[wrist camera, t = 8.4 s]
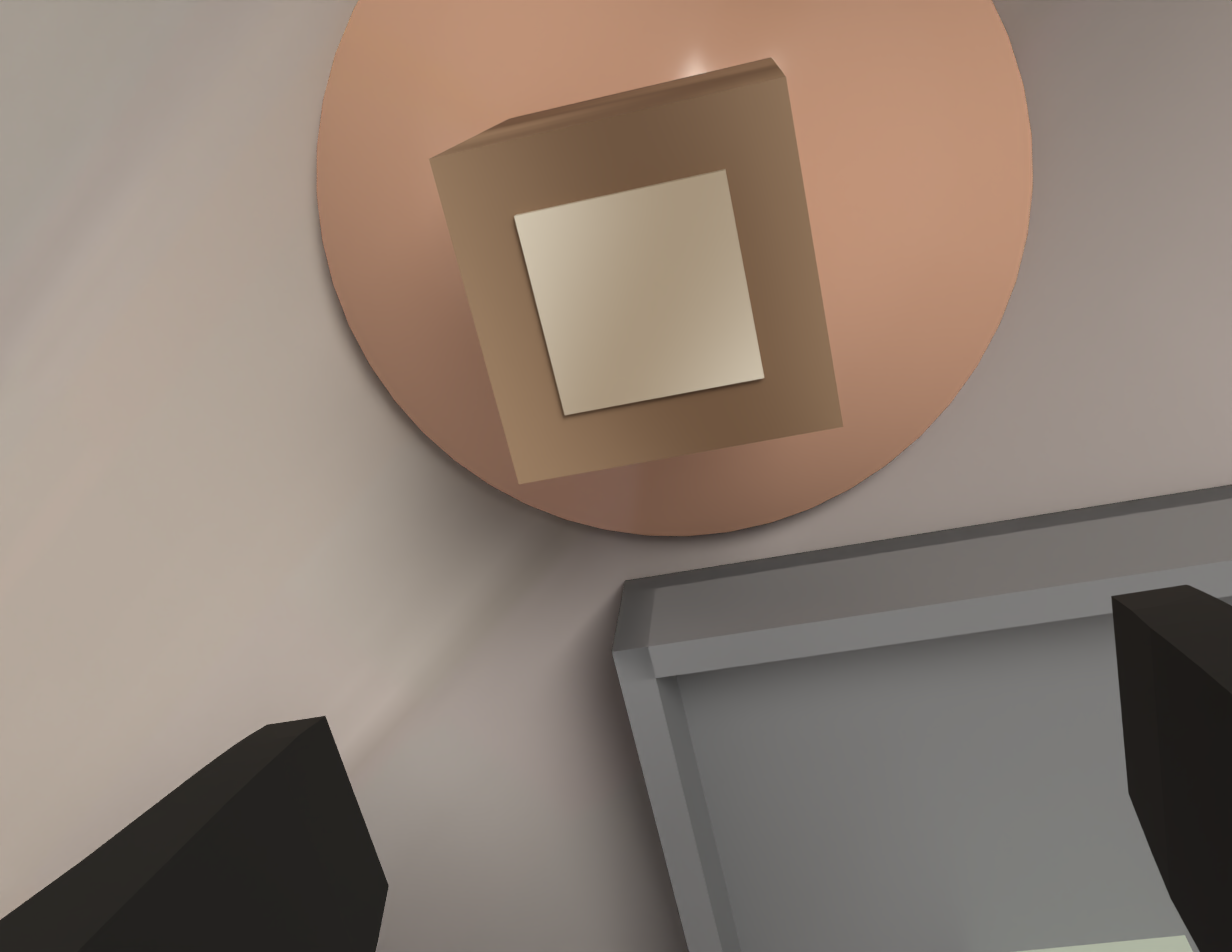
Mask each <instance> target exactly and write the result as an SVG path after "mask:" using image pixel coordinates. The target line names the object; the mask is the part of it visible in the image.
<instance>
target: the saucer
mask: <svg viewBox="0 0 1232 952" xmlns="http://www.w3.org/2000/svg"><path fill="white" fill-rule="evenodd" d="M770 57H771V58H772V59H773V60H774V62H775V63H776V64H777V66H778V67H779V68H780V70H781V71H782V72H783V73H784V75H785V76H786V80H787V86H788V92H789V98H790V104H791V111H792V117H793V123H794V129H795V135H796V141H797V147H798V153H799V159H800V166H801V172H802V178H803V184H804V190H805V196H806V202H807V208H808V214H809V220H810V227H811V233H812V239H813V245H814V251H815V257H816V263H817V269H818V275H819V281H820V288H821V294H822V300H823V306H824V312H825V318H826V324H827V330H828V336H829V343H830V349H831V355H832V361H833V367H834V373H835V379H836V385H837V391H838V397H839V404H840V410H841V416H842V422H843V427H839V428H834V429H828V430H822V431H817V432H811V433H806V434H800V435H794V436H789V437H783V438H777V439H772V440H766V441H760V442H755V443H749V444H744V445H738V446H732V447H727V448H721V449H715V450H710V451H704V452H698V453H693V454H687V455H682V456H676V457H670V458H665V459H659V460H653V461H648V462H642V463H636V464H631V465H625V466H620V467H614V468H608V469H603V470H597V471H591V472H586V473H580V474H574V475H569V476H563V477H557V478H552V479H546V480H541V481H535V482H529V483H524V484H519V483H518V480H517V476H516V472H515V469H514V465H513V461H512V458H511V454H510V451H509V447H508V443H507V440H506V436H505V432H504V429H503V425H502V422H501V418H500V414H499V411H498V407H497V404H496V400H495V396H494V393H493V389H492V385H491V382H490V378H489V375H488V371H487V367H486V364H485V360H484V356H483V353H482V349H481V346H480V342H479V338H478V335H477V331H476V327H475V324H474V320H473V317H472V313H471V309H470V306H469V302H468V298H467V295H466V291H465V288H464V284H463V280H462V277H461V273H460V270H459V266H458V262H457V259H456V255H455V251H454V248H453V244H452V241H451V237H450V233H449V230H448V226H447V222H446V219H445V215H444V212H443V208H442V204H441V201H440V197H439V193H438V190H437V186H436V183H435V179H434V175H433V172H432V168H431V164H430V161H429V159H430V158H432V157H434V156H436V155H438V154H440V153H442V152H444V151H446V150H448V149H450V148H452V147H454V146H456V145H458V144H460V143H462V142H464V141H466V140H468V139H470V138H472V137H474V136H476V135H478V134H480V133H482V132H483V131H485V130H487V129H489V128H491V127H493V126H495V125H497V124H499V123H501V122H503V121H505V120H507V119H509V118H514V117H518V116H522V115H527V114H531V113H535V112H539V111H544V110H548V109H552V108H557V107H561V106H565V105H569V104H574V103H578V102H582V101H586V100H591V99H595V98H599V97H604V96H608V95H612V94H616V93H621V92H625V91H629V90H634V89H638V88H642V87H646V86H651V85H655V84H659V83H663V82H668V81H672V80H676V79H681V78H685V77H689V76H693V75H698V74H702V73H706V72H710V71H715V70H719V69H723V68H728V67H732V66H736V65H740V64H745V63H749V62H753V61H758V60H762V59H766V58H770ZM1032 189H1033V169H1032V134H1031V128H1030V122H1029V116H1028V109H1027V103H1026V97H1025V91H1024V85H1023V82H1022V79H1021V75H1020V72H1019V69H1018V65H1017V62H1016V59H1015V56H1014V52H1013V49H1012V46H1011V42H1010V39H1009V36H1008V34H1007V32H1006V30H1005V28H1004V26H1003V23H1002V21H1001V19H1000V17H999V15H998V13H997V11H996V8H995V6H994V4H993V2H992V0H359V1H358V2H357V4H356V6H355V8H354V10H353V12H352V15H351V17H350V19H349V22H348V24H347V27H346V29H345V32H344V34H343V36H342V39H341V41H340V44H339V46H338V49H337V51H336V53H335V57H334V61H333V65H332V68H331V72H330V76H329V80H328V84H327V87H326V91H325V95H324V99H323V104H322V112H321V120H320V127H319V135H318V143H317V201H318V209H319V218H320V226H321V234H322V241H323V245H324V249H325V253H326V257H327V261H328V265H329V269H330V273H331V277H332V281H333V285H334V287H335V290H336V293H337V295H338V298H339V301H340V303H341V306H342V308H343V311H344V314H345V316H346V319H347V321H348V324H349V326H350V328H351V330H352V332H353V334H354V336H355V338H356V340H357V341H358V343H359V345H360V347H361V349H362V351H363V353H364V355H365V357H366V358H367V360H368V362H369V364H370V366H371V367H372V369H373V370H374V371H375V373H376V374H377V376H378V377H379V379H380V380H381V382H382V383H383V384H384V386H385V387H386V389H387V390H388V392H389V393H390V394H391V396H392V397H393V399H394V400H395V401H396V403H397V404H398V405H399V406H400V407H401V408H402V409H403V410H404V412H405V413H406V414H407V415H408V416H409V417H410V418H411V419H412V421H413V422H414V423H415V424H416V425H417V426H418V427H419V428H420V430H421V431H422V432H423V433H424V434H425V435H427V436H428V437H429V438H430V439H431V440H432V441H433V442H434V443H436V444H437V445H438V446H439V447H440V448H441V449H442V450H443V451H445V452H446V453H447V454H448V455H449V456H450V457H451V458H452V459H454V460H455V461H456V462H458V463H459V464H460V465H462V466H463V467H465V468H466V469H468V470H469V471H470V472H472V473H473V474H475V475H476V476H478V477H479V478H481V479H482V480H483V481H485V482H486V483H488V484H489V485H491V486H493V487H495V488H497V489H499V490H500V491H502V492H504V493H506V494H508V495H510V496H512V497H514V498H515V499H517V500H519V501H521V502H523V503H525V504H527V505H529V506H532V507H535V508H537V509H540V510H542V511H545V512H547V513H550V514H552V515H555V516H558V517H560V518H563V519H565V520H569V521H573V522H577V523H581V524H585V525H589V526H592V527H596V528H600V529H604V530H610V531H618V532H625V533H632V534H640V535H651V536H694V535H704V534H714V533H724V532H731V531H736V530H740V529H745V528H749V527H754V526H758V525H763V524H767V523H771V522H774V521H777V520H780V519H783V518H785V517H788V516H791V515H794V514H797V513H799V512H802V511H805V510H808V509H811V508H813V507H815V506H817V505H819V504H821V503H823V502H825V501H827V500H829V499H831V498H833V497H835V496H837V495H839V494H841V493H843V492H845V491H847V490H849V489H851V488H852V487H854V486H855V485H857V484H858V483H860V482H861V481H863V480H864V479H866V478H868V477H869V476H871V475H872V474H874V473H875V472H877V471H878V470H880V469H881V468H883V467H884V466H886V465H887V464H888V463H889V462H891V461H892V460H893V459H894V458H895V457H896V456H898V455H899V454H900V453H901V452H902V451H904V450H905V449H906V448H907V447H908V446H909V445H911V444H912V443H913V442H914V441H915V440H916V439H918V438H919V437H920V436H921V435H922V434H923V433H924V432H925V431H926V429H927V428H928V427H929V426H930V425H931V424H932V423H933V422H934V421H935V420H936V419H937V417H938V416H939V415H940V414H941V413H942V412H943V411H944V410H945V409H946V408H947V407H948V406H949V404H950V403H951V402H952V401H953V399H954V398H955V396H956V395H957V394H958V392H959V391H960V389H961V388H962V387H963V385H964V384H965V382H966V381H967V380H968V378H969V377H970V375H971V374H972V373H973V371H974V370H975V368H976V367H977V365H978V363H979V362H980V360H981V358H982V356H983V354H984V352H985V350H986V349H987V347H988V345H989V343H990V341H991V339H992V337H993V336H994V334H995V332H996V330H997V328H998V326H999V324H1000V322H1001V319H1002V316H1003V314H1004V311H1005V309H1006V306H1007V303H1008V301H1009V298H1010V296H1011V293H1012V290H1013V288H1014V285H1015V283H1016V280H1017V276H1018V271H1019V267H1020V263H1021V259H1022V255H1023V251H1024V247H1025V243H1026V239H1027V235H1028V226H1029V217H1030V207H1031V198H1032Z"/></svg>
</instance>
